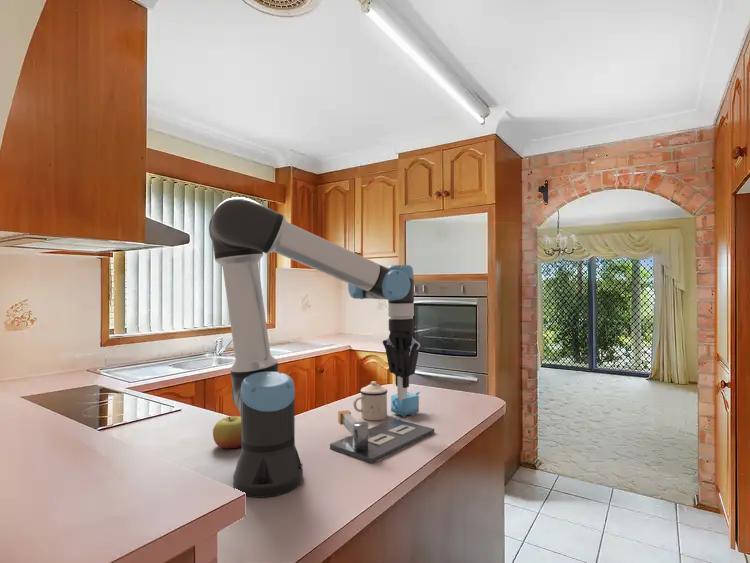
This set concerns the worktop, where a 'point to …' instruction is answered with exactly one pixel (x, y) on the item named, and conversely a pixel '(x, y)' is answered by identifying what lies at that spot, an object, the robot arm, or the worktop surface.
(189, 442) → the worktop surface
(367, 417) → the teacup with lid
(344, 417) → the grey bar
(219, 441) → the apple
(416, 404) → the teapot
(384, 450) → the plate
